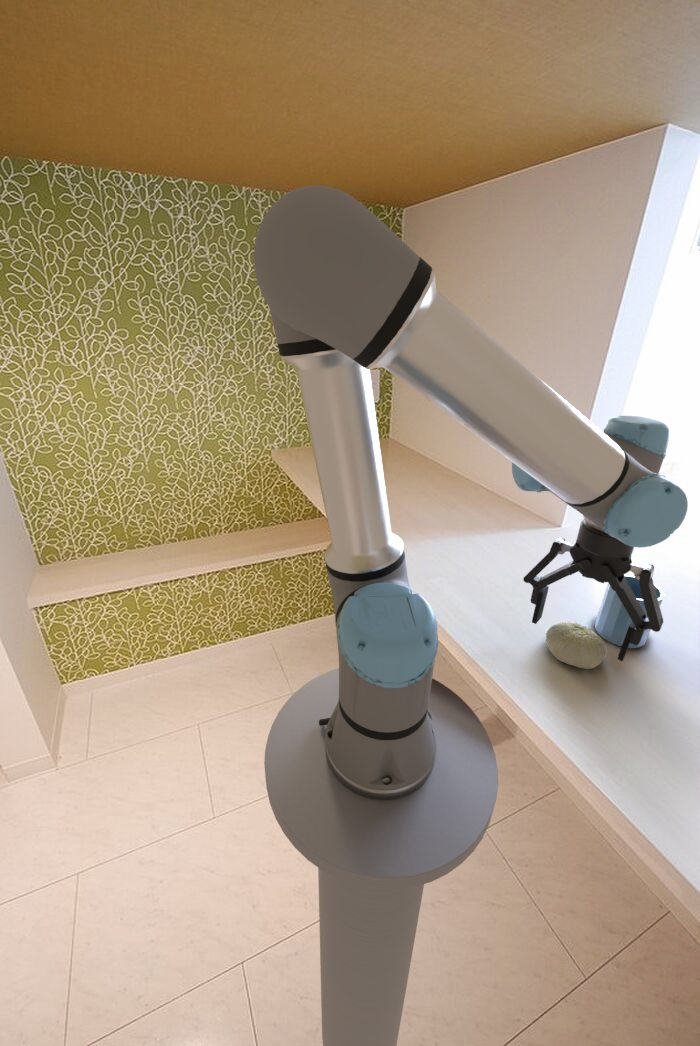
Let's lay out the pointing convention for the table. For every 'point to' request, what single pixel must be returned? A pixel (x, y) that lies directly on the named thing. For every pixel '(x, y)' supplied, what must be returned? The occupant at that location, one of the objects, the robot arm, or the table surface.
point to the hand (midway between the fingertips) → (576, 637)
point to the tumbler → (620, 614)
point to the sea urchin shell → (576, 645)
